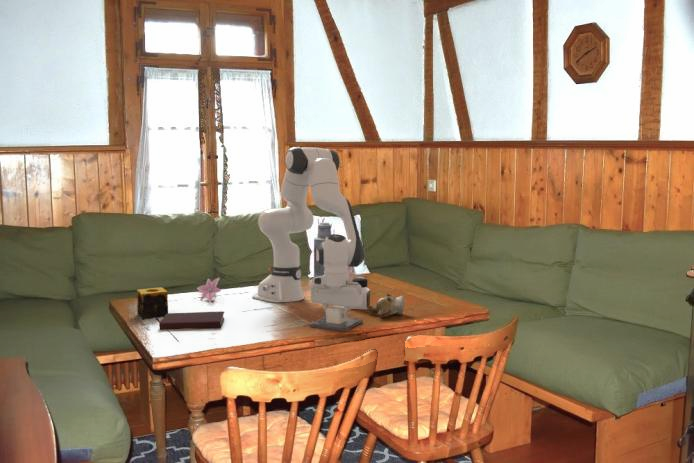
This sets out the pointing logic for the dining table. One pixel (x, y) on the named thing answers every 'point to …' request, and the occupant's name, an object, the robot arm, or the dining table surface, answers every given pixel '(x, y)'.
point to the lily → (209, 289)
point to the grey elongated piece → (323, 232)
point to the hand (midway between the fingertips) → (336, 316)
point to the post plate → (338, 327)
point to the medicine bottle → (363, 293)
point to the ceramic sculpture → (388, 306)
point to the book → (192, 320)
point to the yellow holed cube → (152, 303)
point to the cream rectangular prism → (335, 314)
